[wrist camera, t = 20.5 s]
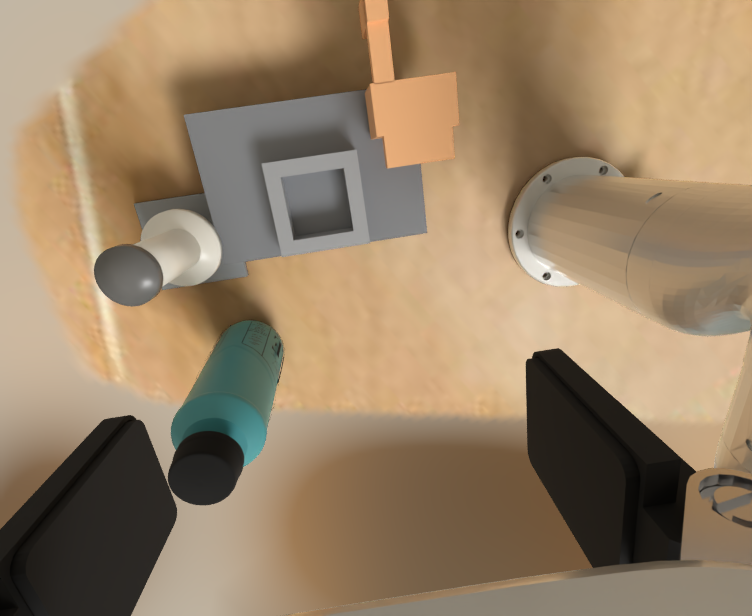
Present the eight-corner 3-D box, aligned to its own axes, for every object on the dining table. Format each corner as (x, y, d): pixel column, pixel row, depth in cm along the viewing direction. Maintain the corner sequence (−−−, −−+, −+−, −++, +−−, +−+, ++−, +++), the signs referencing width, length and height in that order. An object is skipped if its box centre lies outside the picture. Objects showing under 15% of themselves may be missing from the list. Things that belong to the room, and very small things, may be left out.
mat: (227, 189, 38) (225, 190, 37) (248, 274, 41) (247, 276, 40) (136, 203, 37) (133, 203, 37) (164, 288, 40) (162, 290, 40)
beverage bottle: (208, 330, 42) (112, 469, 23) (266, 300, 42) (215, 416, 23) (244, 380, 44) (183, 543, 26) (300, 352, 44) (279, 497, 25)
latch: (433, 0, 31) (452, -28, 27) (445, 157, 35) (463, 157, 30) (353, 10, 31) (358, -16, 26) (374, 168, 35) (381, 169, 30)
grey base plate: (405, 89, 37) (417, 78, 32) (419, 226, 41) (432, 236, 36) (196, 118, 36) (174, 112, 31) (232, 256, 40) (218, 270, 35)
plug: (221, 200, 37) (158, 220, 26) (239, 269, 39) (188, 316, 28) (150, 210, 37) (58, 235, 26) (172, 279, 40) (96, 328, 28)
